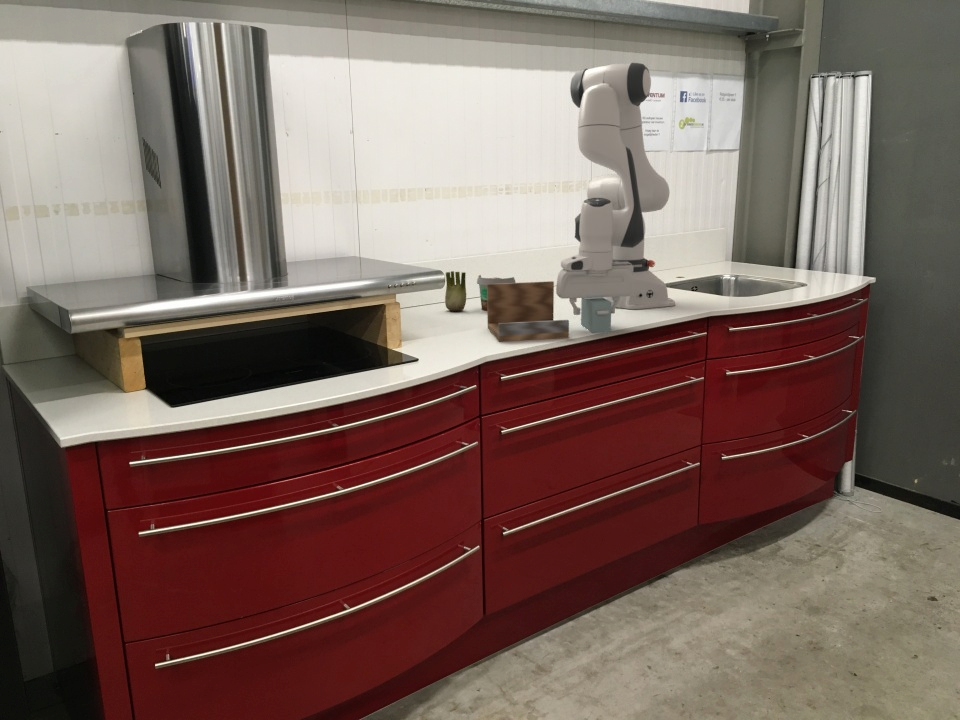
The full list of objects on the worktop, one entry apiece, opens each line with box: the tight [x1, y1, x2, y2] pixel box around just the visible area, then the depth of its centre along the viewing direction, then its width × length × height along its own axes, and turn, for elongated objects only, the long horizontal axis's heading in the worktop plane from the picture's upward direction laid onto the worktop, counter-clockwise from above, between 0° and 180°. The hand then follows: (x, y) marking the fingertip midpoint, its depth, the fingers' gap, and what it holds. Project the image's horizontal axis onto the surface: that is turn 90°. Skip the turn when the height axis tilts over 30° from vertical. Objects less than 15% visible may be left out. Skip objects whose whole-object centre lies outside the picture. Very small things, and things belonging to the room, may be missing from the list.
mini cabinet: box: [580, 297, 612, 334], centre depth 210 cm, size 5×11×8 cm, turn 10°
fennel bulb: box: [444, 270, 467, 312], centre depth 236 cm, size 6×5×12 cm
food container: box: [476, 274, 517, 312], centre depth 236 cm, size 12×6×10 cm, turn 62°
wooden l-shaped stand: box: [486, 281, 570, 343], centre depth 206 cm, size 18×16×12 cm
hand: (594, 313), depth 210 cm, fingers open, 8 cm apart
